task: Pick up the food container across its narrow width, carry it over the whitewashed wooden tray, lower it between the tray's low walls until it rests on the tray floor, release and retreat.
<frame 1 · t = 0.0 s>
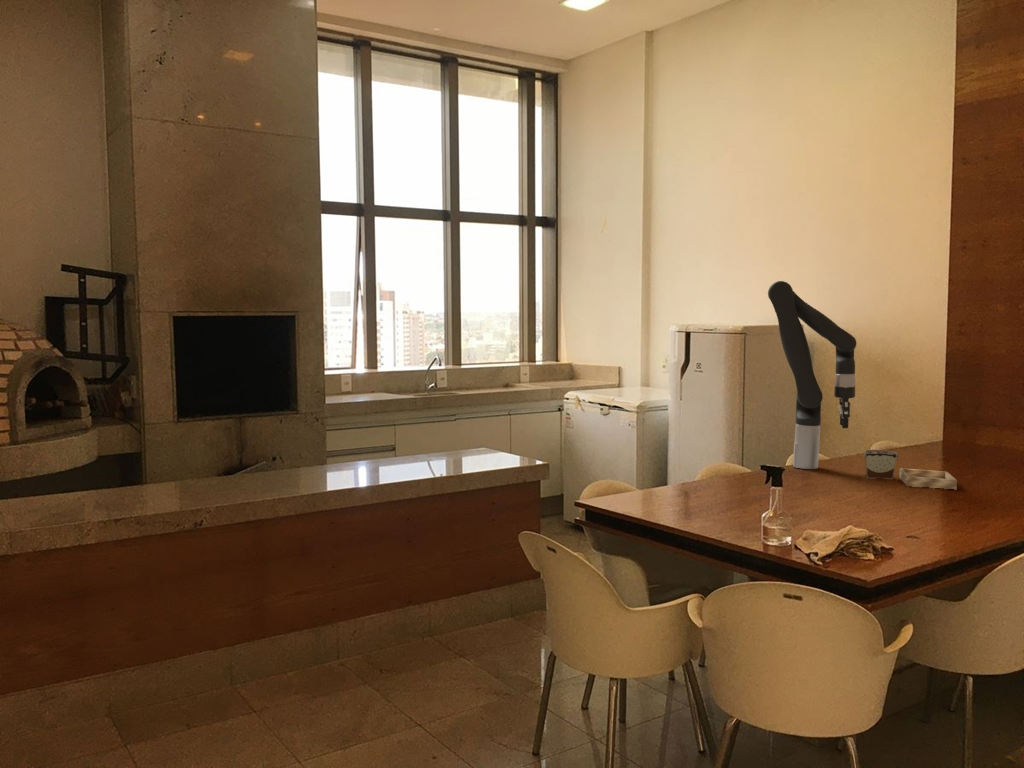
hand: (843, 426, 316), 17 cm above the table, tool pointing down, fingers open, 8 cm apart
whitewashed wooden tray: (926, 483, 295), on the table
food container: (877, 477, 306), on the table
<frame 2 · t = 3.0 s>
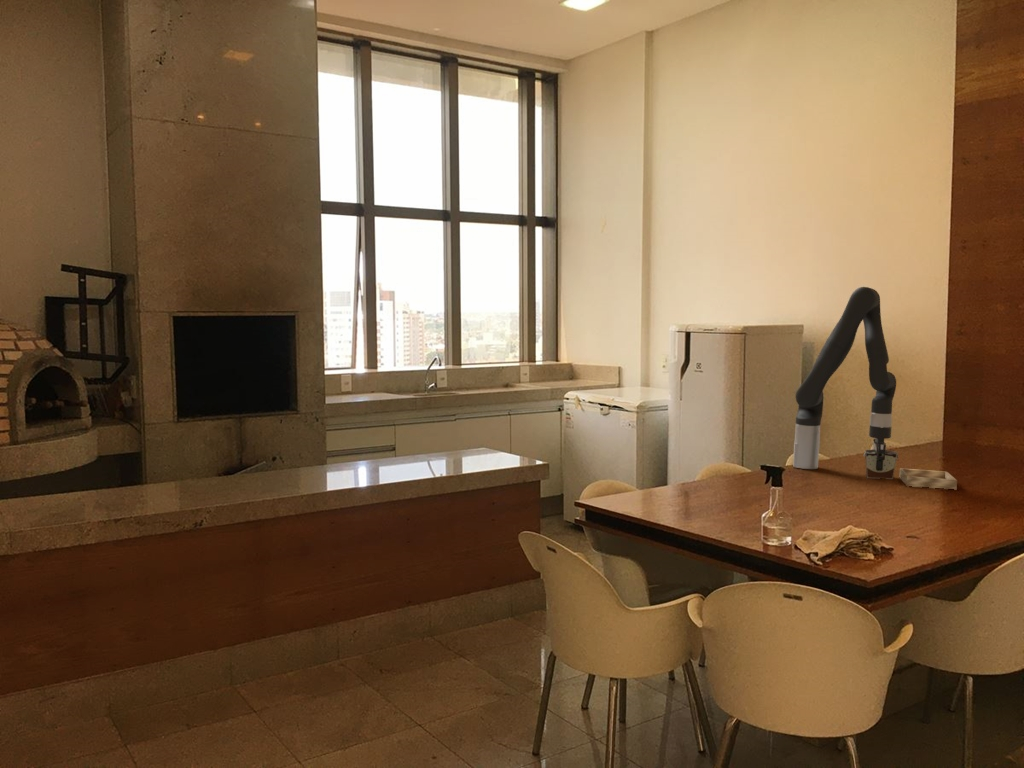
hand: (877, 468, 305), 3 cm above the table, tool pointing down, fingers closed on food container, 6 cm apart
food container: (877, 477, 306), on the table, touching gripper
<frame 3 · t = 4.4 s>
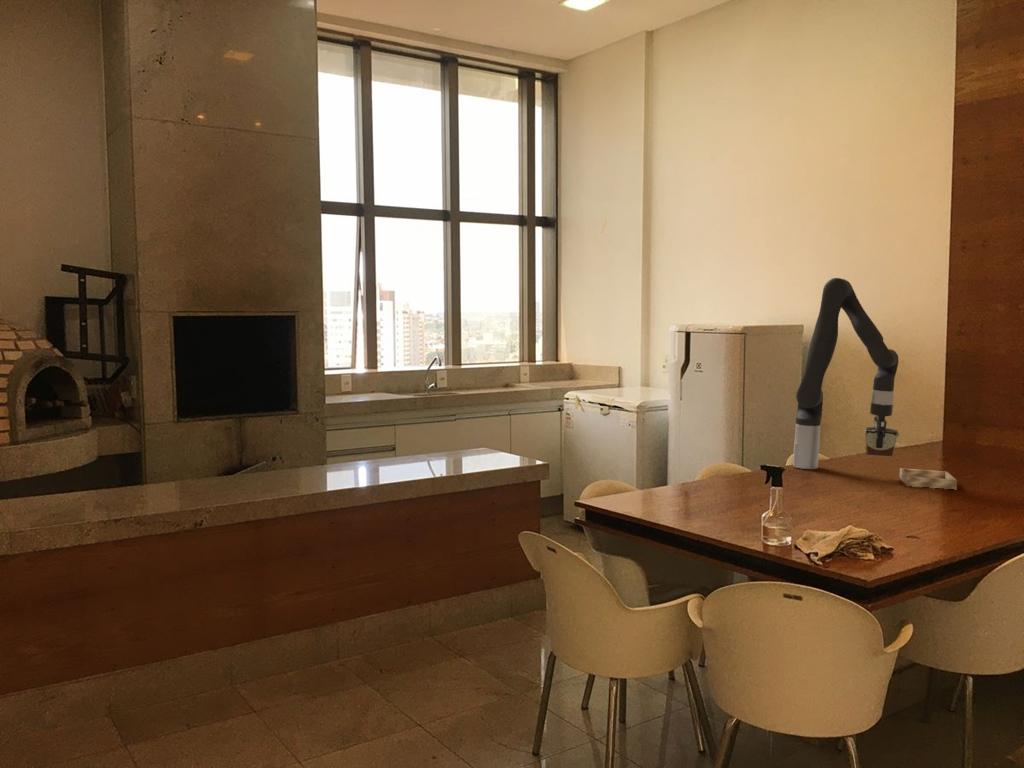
hand: (877, 446, 305), 12 cm above the table, tool pointing down, fingers closed on food container, 6 cm apart
food container: (876, 455, 305), point 8 cm above the table, touching gripper
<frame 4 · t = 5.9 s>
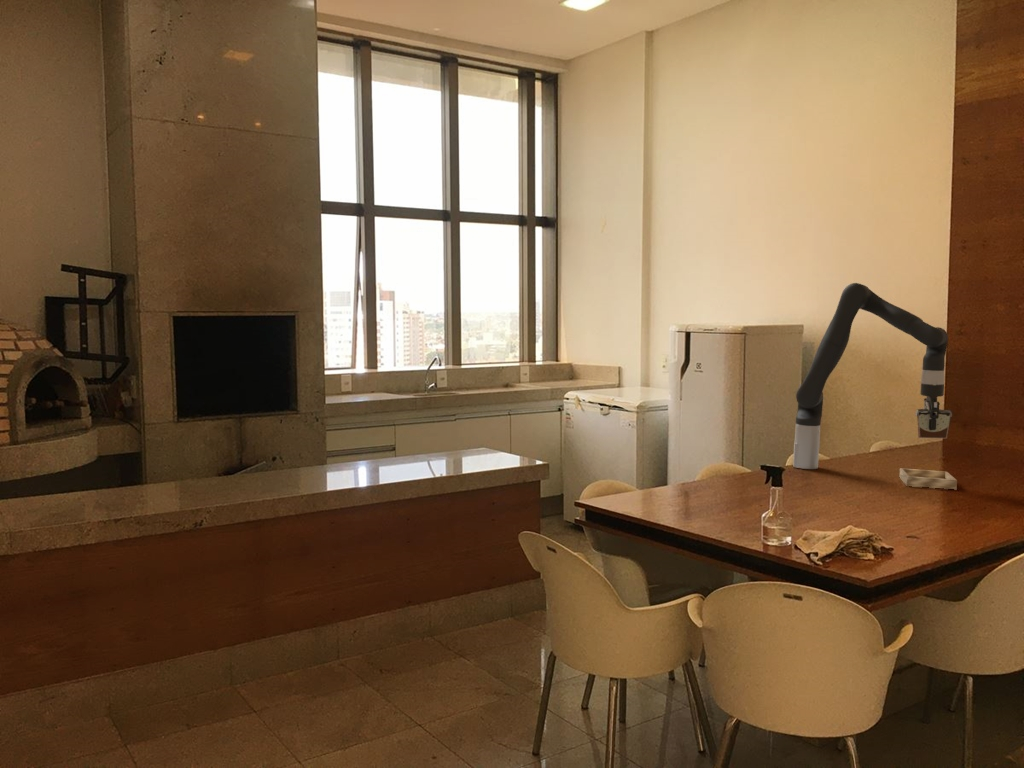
hand: (930, 428, 294), 20 cm above the table, tool pointing down, fingers closed on food container, 6 cm apart
food container: (929, 437, 294), point 17 cm above the table, touching gripper
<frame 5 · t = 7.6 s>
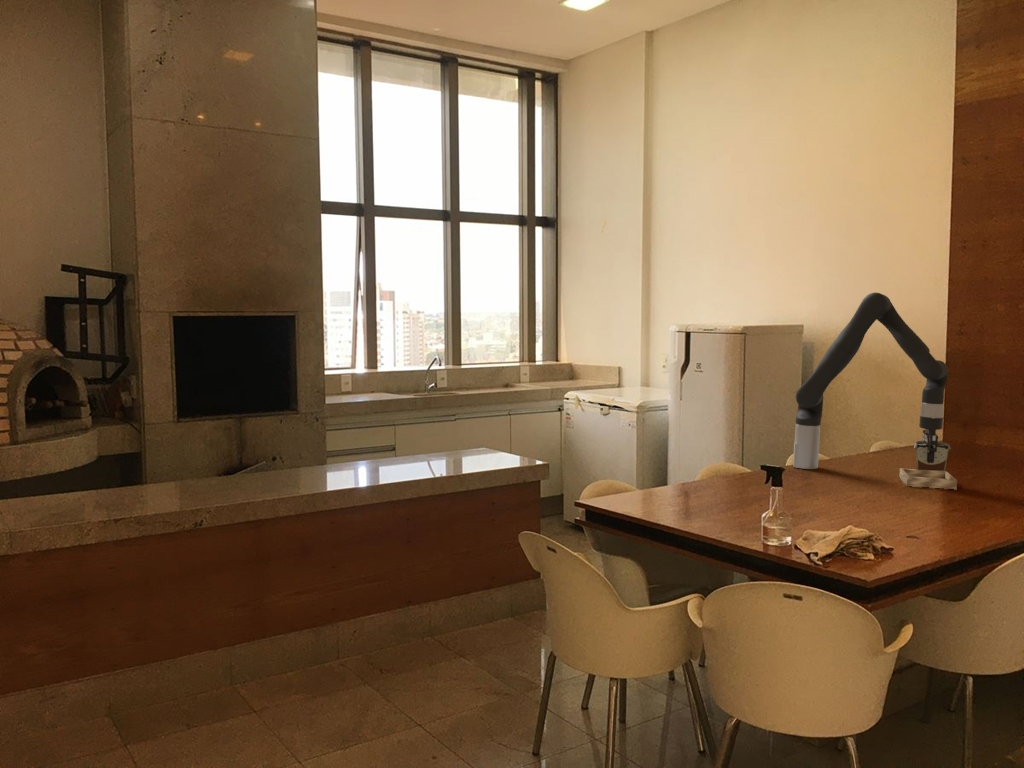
hand: (928, 460, 295), 8 cm above the table, tool pointing down, fingers closed on food container, 6 cm apart
food container: (927, 469, 295), point 5 cm above the table, touching gripper
when the fingers open (5 cm above the table, at t = 8.8 s): food container stays where it is, resting on whitewashed wooden tray.
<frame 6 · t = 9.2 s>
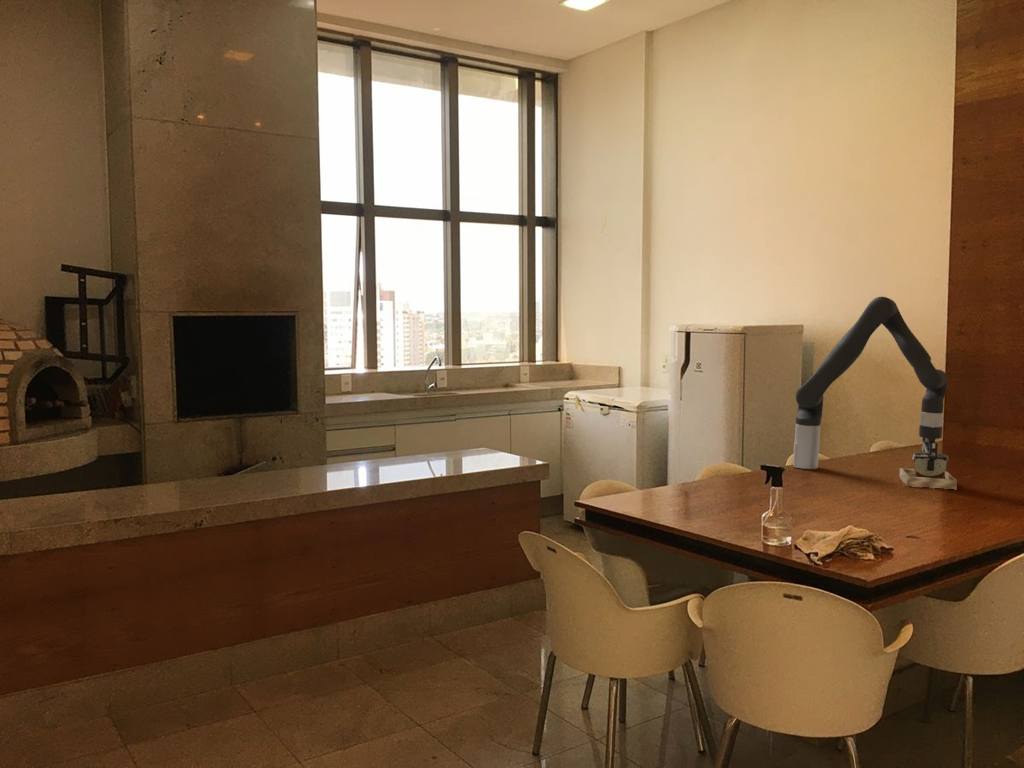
hand: (927, 468, 295), 6 cm above the table, tool pointing down, fingers open, 8 cm apart
food container: (926, 481, 296), point 1 cm above the table, touching whitewashed wooden tray
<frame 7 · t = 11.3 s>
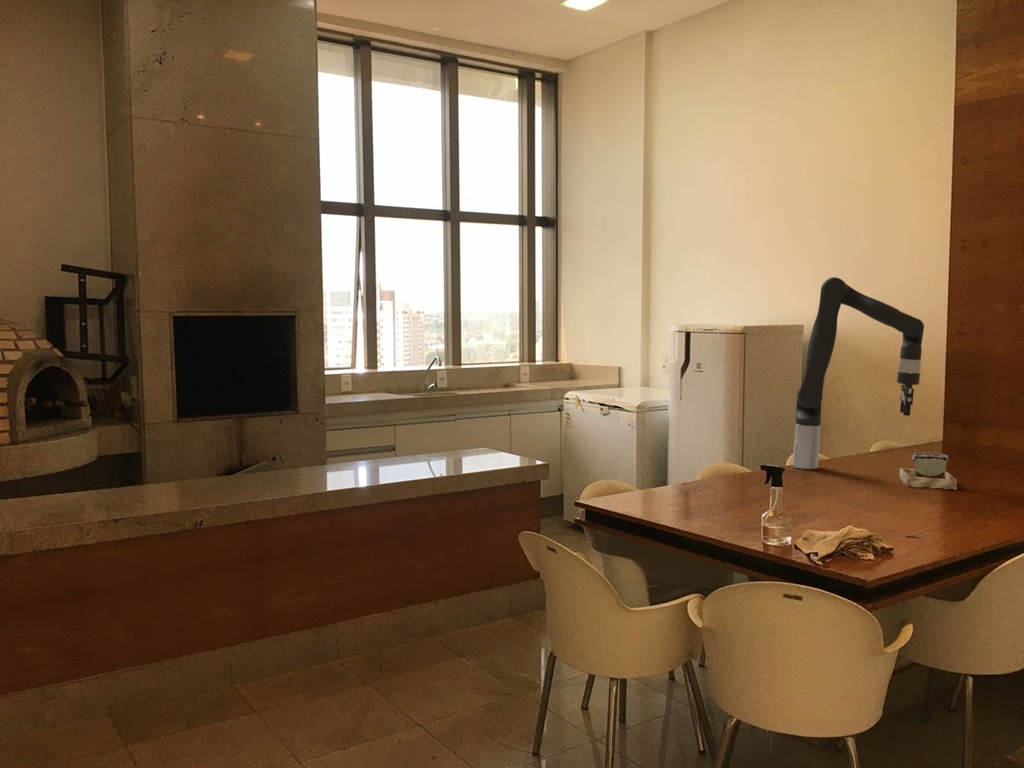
hand: (904, 414, 305), 24 cm above the table, tool pointing down, fingers open, 8 cm apart
nothing on the table moved.
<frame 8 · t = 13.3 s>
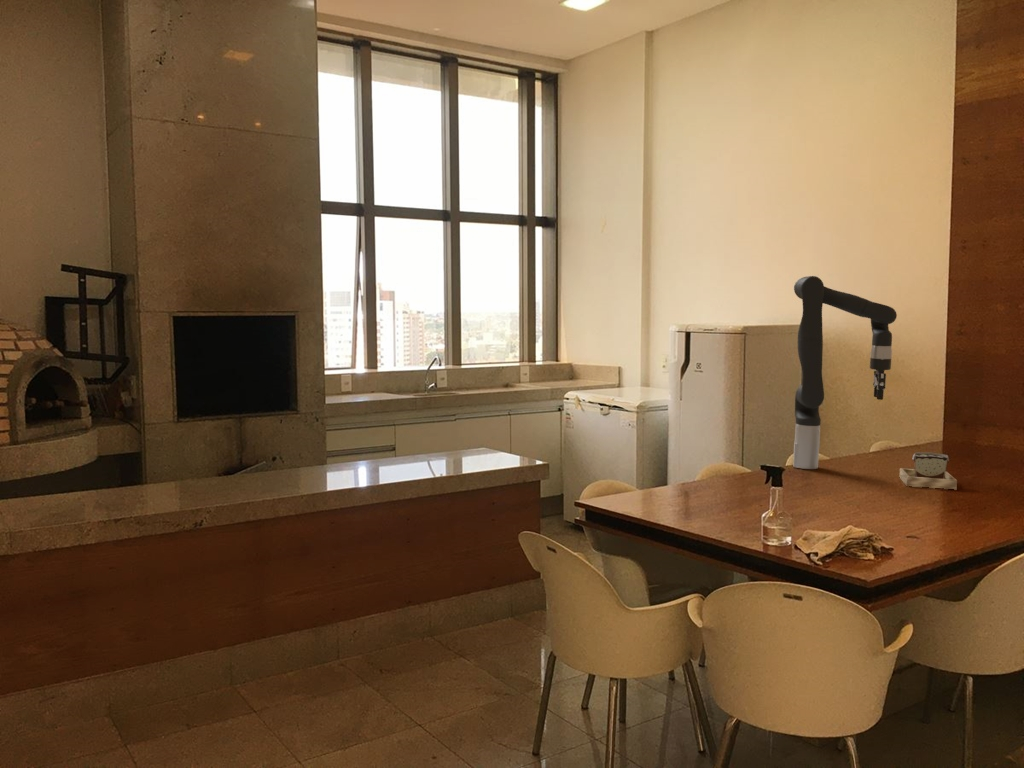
hand: (878, 398, 319), 28 cm above the table, tool pointing down, fingers open, 8 cm apart
nothing on the table moved.
at the end: food container inside the target area on the whitewashed wooden tray (0.6 cm from its centre), point 0.8 cm above the whitewashed wooden tray's base; food container tilted 0°; the gripper is holding nothing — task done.
